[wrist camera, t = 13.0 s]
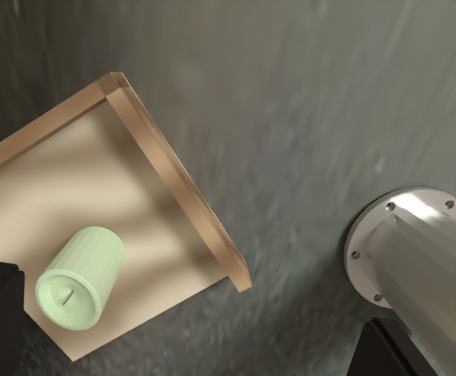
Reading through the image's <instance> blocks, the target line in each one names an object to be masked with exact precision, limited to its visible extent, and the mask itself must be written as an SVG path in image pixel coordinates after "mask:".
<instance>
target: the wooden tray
mask: <svg viewBox="0 0 456 376" xmlns="http://www.w3.org/2000/svg"><path fill="white" fill-rule="evenodd" d="M91 226H97V227H103V228H106V229H109V230H111V231H112V232H114V233H115V234H116V235H117V236H118V237H119V238H120V239H121V241H122V242H123V244H124V248H125V259H124V262H123V264H122V267H121V269H120V271H119V274H118V276H117V278H116V281H115V283H114V285H113V288H112V290H111V292H110V295H109V297H108V299H107V302H106V304H105V306H104V309H103V311H102V313H101V316H100V318H99V320H98V321H97V323H96V324H95V325H94V326H92V327H91V328H89V329H85V330H70V329H66V328H63V327H61V326H59V325H57V324H56V323H54V322H53V321H52V320H50V319H49V318H48V317H47V316H46V315H45V314H44V312H43V311H42V309H41V308H40V306H39V304H38V301H37V299H36V293H35V287H36V282H37V280H38V279H39V277H40V276H41V274H42V273H43V272H44V271H45V270H46V268H47V267H48V266H49V265H50V263H51V262H52V261H53V260H54V258H55V257H56V256H57V255H58V254H59V252H60V251H61V250H62V249H63V247H64V246H65V245H66V244H67V242H68V241H69V240H70V239H71V238H72V236H73V235H74V234H75V233H77V232H78V231H79V230H81V229H83V228H86V227H91ZM0 262H5V263H12V264H17V265H18V267H19V270H20V271H24V273H25V289H24V310H25V311H26V312H27V313H28V315H29V316H30V317H31V318H32V319H33V320H34V321H35V322H36V323H37V324H38V325H39V326H40V327H41V328H42V329H43V330H44V331H45V332H46V334H47V335H48V336H49V337H50V338H51V339H52V340H53V341H54V342H55V343H56V344H57V345H58V346H59V347H60V348H61V349H62V350H63V351H64V353H65V354H66V355H67V356H68V357H69V358H70V359H71V360H72V361H75V360H77V359H79V358H81V357H82V356H84V355H86V354H88V353H90V352H91V351H93V350H95V349H97V348H99V347H100V346H102V345H104V344H106V343H108V342H109V341H111V340H113V339H115V338H117V337H118V336H120V335H122V334H124V333H126V332H127V331H129V330H131V329H133V328H135V327H136V326H138V325H140V324H142V323H144V322H145V321H147V320H149V319H151V318H153V317H154V316H156V315H158V314H160V313H162V312H163V311H165V310H167V309H169V308H171V307H172V306H174V305H176V304H178V303H180V302H181V301H183V300H185V299H187V298H189V297H190V296H192V295H194V294H196V293H198V292H199V291H201V290H203V289H205V288H207V287H208V286H210V285H212V284H214V283H216V282H217V281H219V280H221V279H223V278H225V277H226V276H228V277H229V278H230V279H231V281H232V282H233V284H234V285H235V287H236V288H237V290H238V291H239V293H240V292H242V291H244V290H245V289H247V288H249V287H251V286H252V285H251V281H250V276H249V272H248V268H247V264H246V261H245V260H244V258H243V257H242V255H241V254H240V252H239V251H238V249H237V248H236V246H235V245H234V243H233V241H232V240H231V238H230V237H229V235H228V234H227V232H226V231H225V229H224V228H223V226H222V225H221V223H220V222H219V220H218V219H217V217H216V215H215V214H214V212H213V211H212V209H211V208H210V206H209V205H208V203H207V202H206V200H205V199H204V197H203V196H202V194H201V193H200V191H199V189H198V188H197V186H196V185H195V183H194V182H193V180H192V179H191V177H190V176H189V174H188V173H187V171H186V170H185V168H184V167H183V165H182V163H181V162H180V160H179V159H178V157H177V156H176V154H175V153H174V151H173V150H172V148H171V147H170V145H169V144H168V142H167V141H166V139H165V137H164V136H163V134H162V133H161V131H160V130H159V128H158V127H157V125H156V124H155V122H154V121H153V119H152V118H151V116H150V115H149V113H148V111H147V110H146V108H145V107H144V105H143V104H142V102H141V101H140V99H139V98H138V96H137V95H136V93H135V92H134V90H133V89H132V87H131V85H130V84H129V82H128V81H127V79H126V78H125V76H124V75H123V73H119V72H109V73H107V74H106V75H104V76H103V77H101V78H99V79H98V80H96V81H95V82H93V83H92V84H90V85H89V86H87V87H85V88H84V89H82V90H81V91H79V92H78V93H76V94H75V95H73V96H71V97H70V98H68V99H67V100H65V101H64V102H62V103H61V104H59V105H57V106H56V107H54V108H53V109H51V110H50V111H48V112H47V113H45V114H43V115H42V116H40V117H39V118H37V119H36V120H34V121H33V122H31V123H29V124H28V125H26V126H25V127H23V128H22V129H20V130H19V131H17V132H16V133H14V134H12V135H11V136H9V137H8V138H6V139H5V140H3V141H2V142H0Z"/></svg>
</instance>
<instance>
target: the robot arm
mask: <svg viewBox="0 0 456 376" xmlns="http://www.w3.org/2000/svg"><path fill="white" fill-rule="evenodd" d="M343 260H344V266H345V271H346V273H347V276H348V278H349V280H350V282H351V283H352V285H353V286H354V288H355V289H356V290H357V291H358V292H359V293H360V295H361V296H362V297H364V298H365V299H367V300H368V301H369V302H371V303H373V304H376V305H378V306H380V307H385V308H389V309H393V310H394V311H395V312H396V314H397V315H398V316H399V317H400V319H401V320H402V321H403V322H404V323H405V325H406V326H407V327H408V328H409V330H410V331H411V332H412V333H413V334H414V336H415V337H416V338H417V339H418V341H419V342H420V343H421V344H422V345H423V347H424V348H425V349H426V350H427V352H428V353H429V354H430V355H431V356H432V358H433V359H434V360H435V361H436V363H437V364H438V365H439V366H440V367H441V369H442V370H443V371H444V372H445V374H446V375H447V376H456V198H455V197H453V196H452V195H450V194H447V193H445V192H443V191H441V190H437V189H434V188H430V187H418V186H417V187H409V188H403V189H400V190H396V191H393V192H391V193H389V194H387V195H385V196H383V197H381V198H379V199H378V200H376V201H375V202H373V203H372V204H371V205H369V206H368V207H367V208H366V209H365V210H364V211H363V212H362V213H361V214H360V215H359V217H358V218H357V220H356V221H355V222H354V224H353V225H352V227H351V229H350V231H349V234H348V236H347V239H346V242H345V246H344V258H343ZM24 289H25V273H24V271H20V270H19V267H18V265H17V264H12V263H5V262H0V376H13V375H14V374H15V372H16V370H17V369H18V367H19V365H20V362H21V358H22V344H23V316H24ZM346 376H438V375H437V374H436V372H435V371H434V370H433V368H432V367H431V366H430V364H429V363H428V362H427V360H426V359H425V358H424V356H423V355H422V354H421V353H420V351H419V350H418V349H417V347H416V346H415V345H414V343H413V342H412V341H411V339H410V338H409V337H408V335H407V334H406V333H405V332H404V330H403V329H402V328H401V326H400V325H399V324H398V323H397V322H396V321H395V320H391V319H384V318H377V317H374V318H372V319H371V320H370V322H366V323H365V324H364V327H363V330H362V332H361V335H360V338H359V341H358V344H357V347H356V350H355V352H354V355H353V358H352V361H351V364H350V367H349V369H348V372H347V375H346Z"/></svg>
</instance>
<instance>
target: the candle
mask: <svg viewBox="0 0 456 376" xmlns="http://www.w3.org/2000/svg"><path fill="white" fill-rule="evenodd" d="M124 259H125V248H124V244H123V242H122V241H121V239H120V238H119V237H118V236H117V235H116V234H115V233H114V232H112V231H111V230H109V229H106V228H103V227H97V226H91V227H86V228H83V229H81V230H79V231H78V232H77V233H75V234H74V235H73V236H72V238H71V239H70V240H69V241H68V242H67V244H66V245H65V246H64V247H63V249H62V250H61V251H60V252H59V254H58V255H57V256H56V257H55V258H54V260H53V261H52V262H51V263H50V265H49V266H48V267H47V268H46V270H45V271H44V272H43V273H42V274H41V276H40V277H39V279H38V280H37V282H36V287H35V293H36V299H37V301H38V304H39V306H40V308H41V309H42V311H43V312H44V314H45V315H46V316H47V317H48V318H49V319H50V320H52V321H53V322H54V323H56V324H57V325H59V326H61V327H63V328H66V329H70V330H85V329H89V328H91V327H92V326H94V325H95V324H96V323H97V321H98V320H99V318H100V316H101V313H102V311H103V309H104V306H105V304H106V302H107V299H108V297H109V295H110V292H111V290H112V288H113V285H114V283H115V281H116V278H117V276H118V274H119V271H120V269H121V267H122V264H123V262H124Z"/></svg>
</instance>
